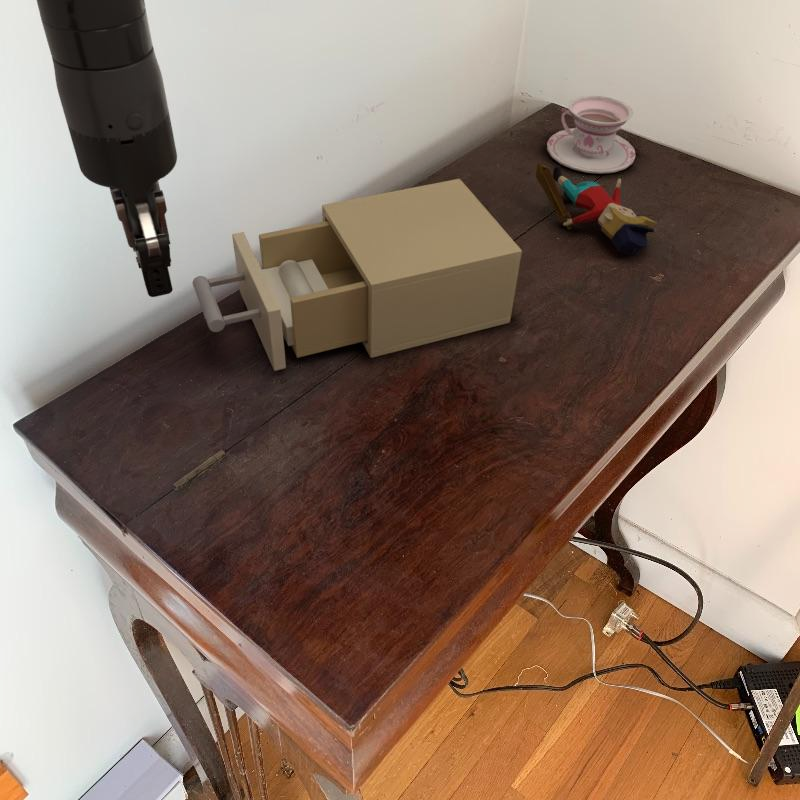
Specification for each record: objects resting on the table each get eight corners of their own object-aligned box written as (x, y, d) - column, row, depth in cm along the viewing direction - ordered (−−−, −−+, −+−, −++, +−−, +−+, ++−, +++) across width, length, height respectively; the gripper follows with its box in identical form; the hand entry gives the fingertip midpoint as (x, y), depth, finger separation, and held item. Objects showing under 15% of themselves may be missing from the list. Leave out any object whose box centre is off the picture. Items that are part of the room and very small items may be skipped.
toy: (591, 146, 98) (676, 210, 90) (577, 192, 103) (657, 257, 94) (531, 158, 94) (614, 226, 86) (519, 206, 99) (597, 274, 90)
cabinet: (370, 358, 79) (371, 284, 73) (325, 276, 88) (321, 204, 82) (510, 322, 84) (522, 250, 77) (453, 248, 93) (459, 178, 86)
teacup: (637, 139, 113) (648, 96, 108) (631, 181, 105) (643, 137, 100) (552, 126, 115) (559, 83, 110) (540, 167, 106) (548, 123, 102)
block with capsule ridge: (343, 333, 79) (342, 304, 76) (288, 346, 77) (285, 317, 75) (313, 277, 85) (311, 249, 82) (261, 288, 83) (258, 260, 81)
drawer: (222, 384, 75) (212, 324, 70) (193, 302, 83) (181, 243, 78) (414, 336, 81) (417, 277, 75) (368, 264, 89) (368, 206, 84)
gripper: (55, 80, 64) (106, 258, 76) (76, 160, 56) (130, 346, 68) (151, 67, 66) (185, 242, 79) (185, 142, 58) (217, 326, 70)
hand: (159, 290), depth 73 cm, fingers closed
